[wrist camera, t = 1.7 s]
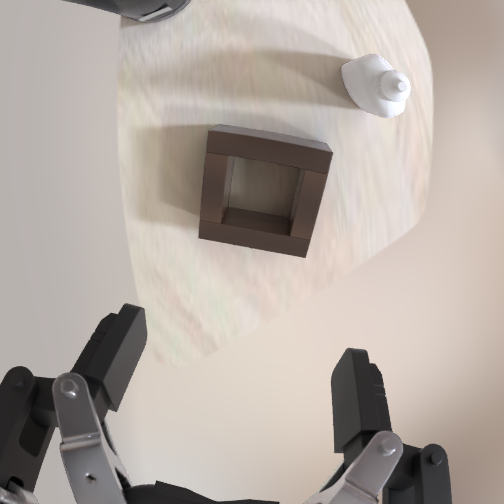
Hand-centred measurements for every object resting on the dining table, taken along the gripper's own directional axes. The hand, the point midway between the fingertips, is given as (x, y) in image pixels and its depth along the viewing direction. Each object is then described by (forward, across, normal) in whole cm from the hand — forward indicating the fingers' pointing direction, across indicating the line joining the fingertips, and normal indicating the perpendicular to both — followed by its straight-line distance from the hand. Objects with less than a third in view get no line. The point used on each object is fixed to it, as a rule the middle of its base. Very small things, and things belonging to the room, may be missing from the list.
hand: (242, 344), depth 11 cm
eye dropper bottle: (+24, -7, -11) cm, 28 cm away
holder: (+24, 0, +2) cm, 24 cm away
